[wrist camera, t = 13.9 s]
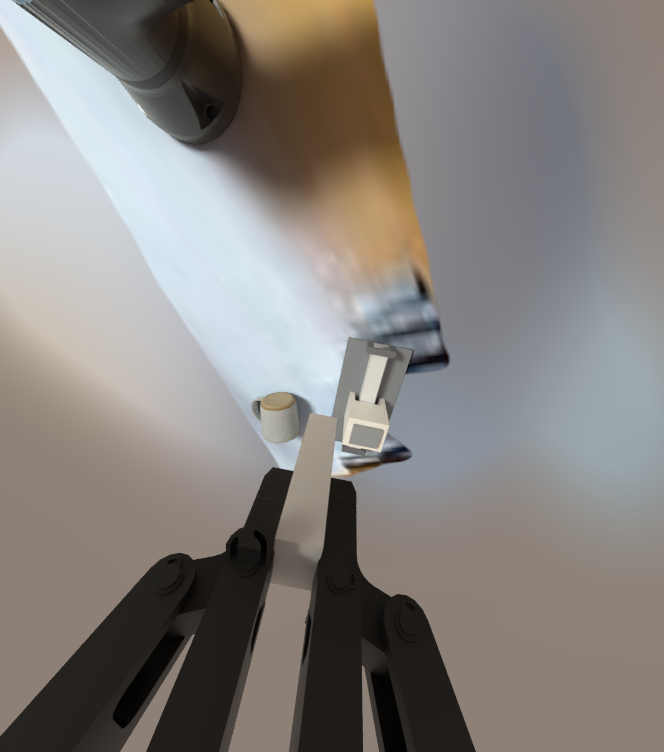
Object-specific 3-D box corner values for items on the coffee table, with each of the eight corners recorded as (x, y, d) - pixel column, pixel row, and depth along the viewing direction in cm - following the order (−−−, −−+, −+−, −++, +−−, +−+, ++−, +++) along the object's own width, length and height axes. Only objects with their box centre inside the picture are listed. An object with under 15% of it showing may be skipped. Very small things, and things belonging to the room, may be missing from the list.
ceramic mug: (299, 389, 51) (290, 410, 44) (303, 422, 55) (294, 445, 48) (251, 388, 52) (234, 408, 45) (257, 420, 56) (242, 443, 49)
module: (350, 391, 50) (348, 419, 41) (384, 398, 50) (390, 427, 41) (344, 416, 52) (341, 447, 44) (376, 422, 52) (380, 455, 44)
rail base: (348, 337, 45) (348, 342, 42) (412, 349, 45) (416, 356, 42) (327, 437, 56) (325, 448, 53) (379, 447, 56) (380, 459, 53)
